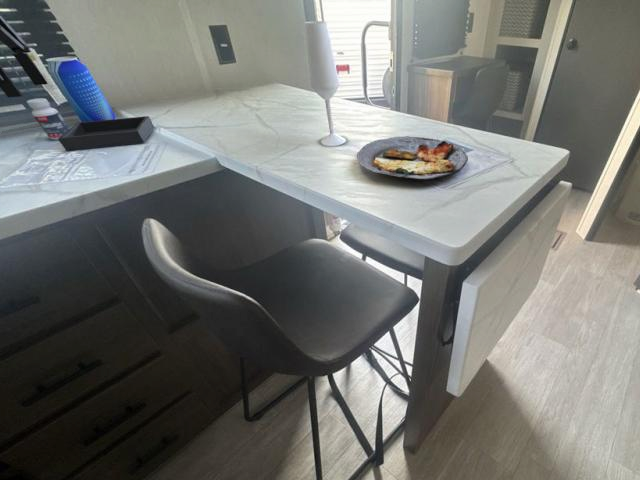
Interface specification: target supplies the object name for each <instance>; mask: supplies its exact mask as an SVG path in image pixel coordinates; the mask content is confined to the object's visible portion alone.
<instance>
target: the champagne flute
mask: <svg viewBox="0 0 640 480" xmlns="http://www.w3.org/2000/svg"><path fill="white" fill-rule="evenodd" d="M304 28H305V40H306V51H307V60H308V71H309V80H310V81H309V82H310V86H311V88H312V89H313V91H314V92H315V94H317V95H318V96H319V97H320V98H321V99H323V100H324V102H325V109H326V116H327V122H328V129H329V134H328V135H326V136H325V137H324V138H323V139H321V141H320V143H321V145H323V146H326V147H327V146H328V147H335V146H336V147H337V146H340V145H343V144H345V143H346V142H347V140H346V138H345V137H342V136H340V135H338V134H336V133H335V127H334V121H333V119H334V118H333V112H332V107H331V99H332V98H333V97H335V95H336V93H337V91H338V89H339V86H340V81H339V75H338V70H337V66H336V60H335V55H334V50H333V45H332V40H331V34H330V29H329V24H328V21H324V20H316V21H313V20H312V21H305V22H304Z"/></svg>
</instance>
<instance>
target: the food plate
mask: <svg viewBox="0 0 640 480" xmlns="http://www.w3.org/2000/svg"><path fill="white" fill-rule="evenodd" d="M356 159H357V161H358V163H359V164H360V165H361V166H362V167H363V168H366V169H367V170H368V171H370V172H373V173H375V174H378V173H379V174H384V175H388V176H390V177H391V176H392V177H398V178H405V179H408V178H410V179H415V180H435V179H441V178H443V177H447V176H452V175H454V174H455V173H458V172H460V171H461V170H463V168H464V167H465V166H466V164H467V162H468V161H469V157H468V154H467V153H466V152H465V151H464V150H463V149H462V148H461V147H460V146H457V145H455V144H454V143H451V142H447V141H445V140H441V139H433V138H429V137H428V138H427V137H420V136H408V135H405V136H404V135H403V136H394V137H388V138H381V139H377V140H373V141H370V142H369V143H366V144H364V145H363V146H362V147H361V149H360V150H358V152H356Z"/></svg>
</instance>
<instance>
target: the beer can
mask: <svg viewBox="0 0 640 480" xmlns="http://www.w3.org/2000/svg"><path fill="white" fill-rule="evenodd" d="M45 62H46V63H47V72H48V74H49V75H50V76H51V78H52V79H53V82H54V83H55V84H56V85H57V87H58V89H59V90H60V92H61V93H62V95H63V96H64V98H65V99H66V101H67V102H68V104H69V105H70V107H71V108H72V110H73V111H74V113H75V114H76V116H77V117H78V119H79V120H80V122H87V121H99V120H110V119H117V116H116V115H115V113H114V112H113V110H112V107H111V106H110V104H109V103H108V100H107V99H106V98H105V96H104V94H103V92H102V91H101V89H100V87H99V85H98V84H97V82H96V80H95V79H94V77H93V75H92V73H91V72H90V70H89V68H88V67H87V66H86V65H85V64H83V63H82V61H80V60H78V57H77V56H59V57H58V56H57V57H50V58H46V59H45Z"/></svg>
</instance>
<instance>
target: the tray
mask: <svg viewBox="0 0 640 480" xmlns="http://www.w3.org/2000/svg"><path fill="white" fill-rule="evenodd" d="M152 123H153V120H151V118H150V116H149V115H146V116H135V117H123V118H116V119H110V120H99V121H87V122H81V121H78V122H76V123H75V124H73V126H71V127H69V128H70V129H69V130H68V131H67V132H65V133H64V134H63V135H62V136H60V137H59V138H58V140H57V141H58V142H59V143H60V144H61V146H62V147H63V148H64V149H65V151H66V152H70V151H71V152H72V151H73V152H74V151H82V150H90V149H92V150H93V149H101V148H110V147H111V148H113V147H118V146H119V147H121V146H129V145H141V144H145V143H146V141H147V140H148V138H149V137H150V136H151V134H152V132H153V131H154V129H155V128H156V127H155V125H154V123H153V124H152Z"/></svg>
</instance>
